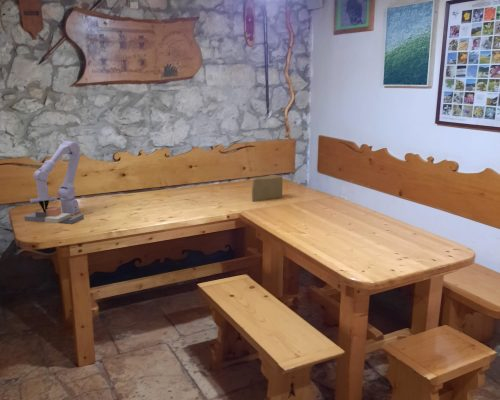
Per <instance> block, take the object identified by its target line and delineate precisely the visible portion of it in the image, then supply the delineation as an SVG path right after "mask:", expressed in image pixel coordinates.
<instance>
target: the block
mask: <svg viewBox="0 0 500 400" xmlns="http://www.w3.org/2000/svg"><path fill="white" fill-rule="evenodd" d="M49 207H50V208H48V207H47V208H48V209H46V216H58V215H60V214H61V212H62V208H61V207H60V206H49Z"/></svg>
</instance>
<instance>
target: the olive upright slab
mask: <svg viewBox="0 0 500 400" xmlns="http://www.w3.org/2000/svg"><path fill="white" fill-rule="evenodd" d="M283 185H284V184H283V176H281V175H277V174H270V175H266V176H262V177H255V178H253V179H252V185H251V201H252V202H260V201H266V200H273V199H279V198H282V197H283V188H284V187H283Z"/></svg>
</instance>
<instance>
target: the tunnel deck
mask: <svg viewBox="0 0 500 400" xmlns="http://www.w3.org/2000/svg"><path fill="white" fill-rule="evenodd" d="M50 207H51V206H48V207H47V209H48V208H50ZM71 216H72V215H70V214H69V213H61V214H60V215H58V216H46V213H45V212H44V211H38V210H37V211H34V212H32V213H30V214H27V215H24V216H23V217H24V221H25V220H26V221H27V222H40V223H50V224H51V223H52V224H65V225H73V224H75V223H77V222H80V221H82V220H84V218H85V217H84V214H78V215H76V216H73V217H71Z"/></svg>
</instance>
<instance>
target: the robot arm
mask: <svg viewBox="0 0 500 400" xmlns="http://www.w3.org/2000/svg"><path fill="white" fill-rule="evenodd" d="M80 148H81V146H80V145H79V144H78V142H76V141H71V140H70V141H69V140H63V141H62V142H61V143H60V144H59V146H58V148H57V150H56V151H55V152H54V154H52V156H51V158H50V159H47V160H45V161H44V162H43V164H42V165H41V166H40V167H39V168H38V169H37V170H35V171H34V173H33V175H32V177H33V179H34V180H35V183H36V190H37V191H36V192H37V193H36V194H37V197H36V198H30V199H29V202H30V204H32V203H33V204H34V203H38V204H39V206H40V207H41V209H42V212H45V213H46V209H47V208H48V207H49V203H50V202H51V201H58V198H57V196H58V197H59V199H60V206H61V207H60V208H61V213H69V214H70V216H74V215H76V214H78V213H80V209H79V201H78V200H77V199H74V198H75V196H76V191H75V190H76V186H75V185H74V183H75V179H76V174H77V170H78V166H79V163H80V157H81V153H80ZM65 154H66V155H67V156H69V160H68V165H67V169H66V172H65V176H64V179H63V183H61V184H60V187H59V188H58V190H57V196H49V189H48V179H49V175H50V173H51V172H52V171H53V169H54V168H55V167H56V163H57V162H58V161H59V160H60V159H61V158H62V157H63V155H65Z"/></svg>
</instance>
